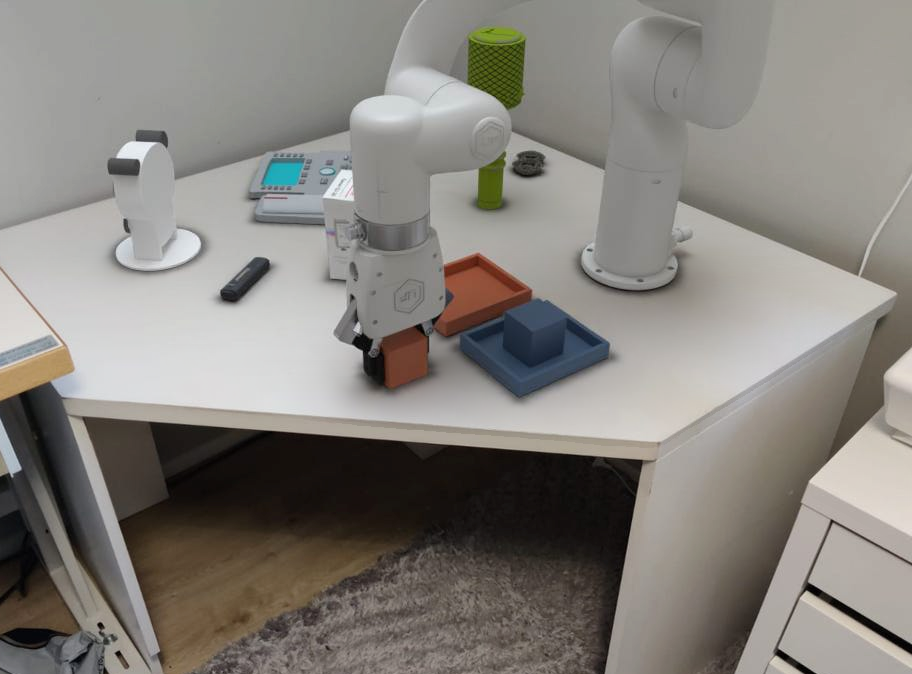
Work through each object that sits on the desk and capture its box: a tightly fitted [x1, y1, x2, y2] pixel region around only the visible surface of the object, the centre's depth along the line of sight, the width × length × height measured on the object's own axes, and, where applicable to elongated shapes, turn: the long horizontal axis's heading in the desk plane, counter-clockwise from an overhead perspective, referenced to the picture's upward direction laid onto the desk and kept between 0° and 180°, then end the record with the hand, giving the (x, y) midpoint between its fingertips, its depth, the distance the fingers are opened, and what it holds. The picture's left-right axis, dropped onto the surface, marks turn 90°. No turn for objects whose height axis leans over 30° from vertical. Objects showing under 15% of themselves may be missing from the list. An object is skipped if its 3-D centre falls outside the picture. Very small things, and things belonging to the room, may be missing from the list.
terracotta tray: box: [433, 252, 533, 337], centre depth 112 cm, size 13×11×2 cm
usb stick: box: [219, 256, 271, 301], centre depth 115 cm, size 10×3×2 cm, turn 160°
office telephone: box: [249, 149, 352, 225], centre depth 136 cm, size 23×3×20 cm
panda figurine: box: [106, 129, 202, 272], centre depth 118 cm, size 12×11×15 cm
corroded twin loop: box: [511, 150, 546, 176], centre depth 143 cm, size 5×8×1 cm, turn 166°
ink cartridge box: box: [322, 170, 355, 281], centre depth 114 cm, size 9×5×15 cm, turn 168°
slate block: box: [503, 297, 567, 368], centre depth 101 cm, size 5×5×5 cm
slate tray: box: [459, 299, 611, 398], centre depth 103 cm, size 13×11×2 cm
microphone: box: [466, 26, 527, 210], centre depth 125 cm, size 8×8×25 cm
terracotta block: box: [370, 326, 428, 390], centre depth 99 cm, size 5×5×5 cm
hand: (396, 367), depth 100 cm, fingers closed on terracotta block, 5 cm apart
